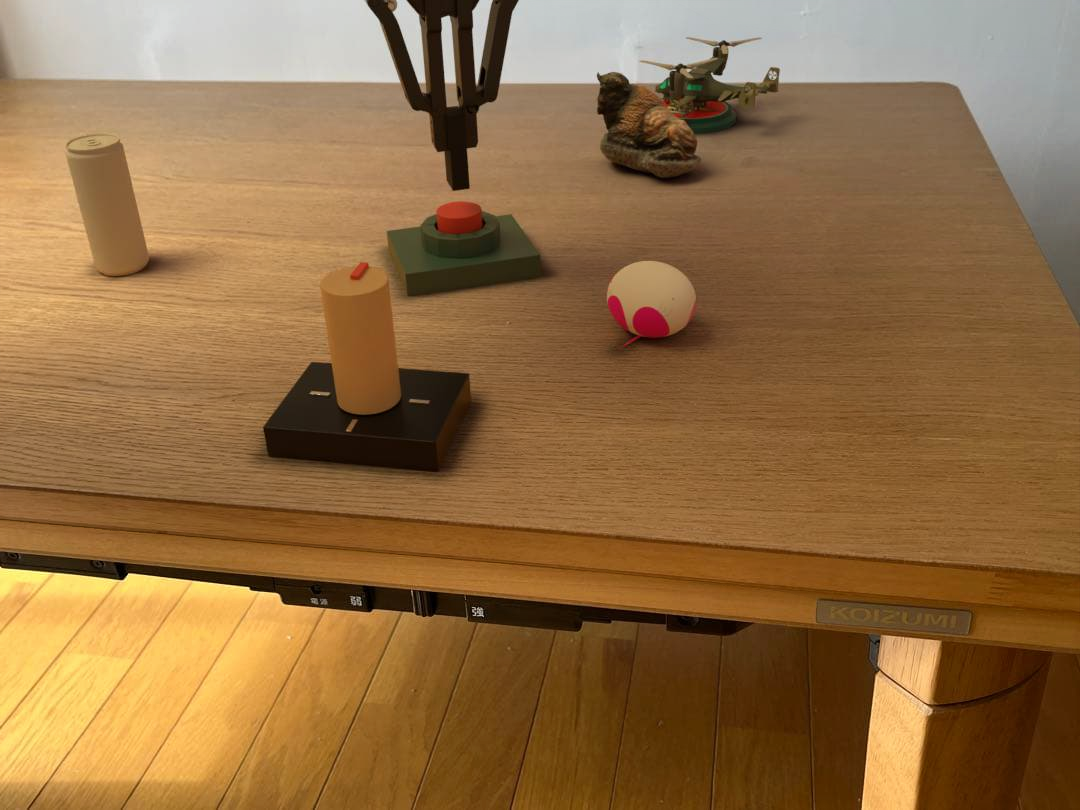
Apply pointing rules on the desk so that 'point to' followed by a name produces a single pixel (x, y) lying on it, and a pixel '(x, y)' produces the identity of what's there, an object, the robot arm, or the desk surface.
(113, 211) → the beverage can
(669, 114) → the bison figurine
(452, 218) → the button
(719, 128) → the toy helicopter
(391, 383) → the knob
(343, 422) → the panel
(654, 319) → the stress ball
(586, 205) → the desk surface
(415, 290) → the button box
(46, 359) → the desk surface
